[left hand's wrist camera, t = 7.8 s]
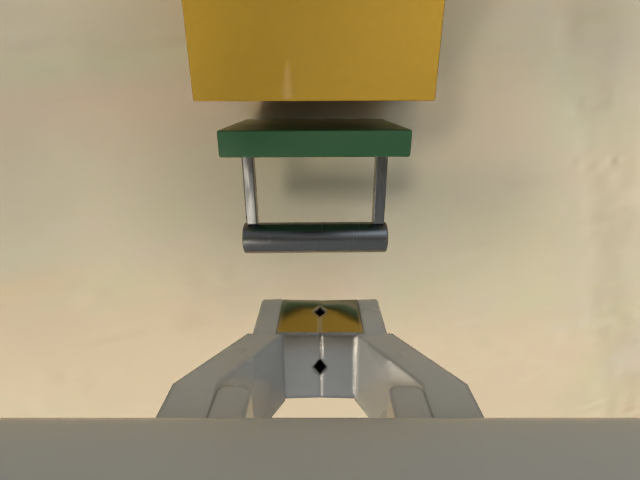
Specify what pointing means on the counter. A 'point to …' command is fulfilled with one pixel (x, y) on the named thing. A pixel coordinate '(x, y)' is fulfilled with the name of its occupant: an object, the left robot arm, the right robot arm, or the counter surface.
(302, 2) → the cabinet
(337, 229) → the drawer
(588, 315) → the counter surface
